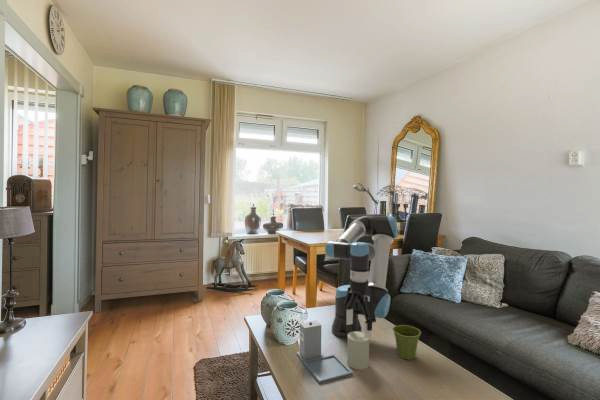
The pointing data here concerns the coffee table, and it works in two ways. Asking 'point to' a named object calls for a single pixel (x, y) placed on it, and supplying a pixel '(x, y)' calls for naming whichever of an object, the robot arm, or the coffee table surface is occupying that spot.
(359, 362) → the can
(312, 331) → the box
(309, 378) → the coffee table surface
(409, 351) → the plant pot
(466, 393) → the coffee table surface
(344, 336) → the robot arm
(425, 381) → the coffee table surface
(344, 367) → the tray
